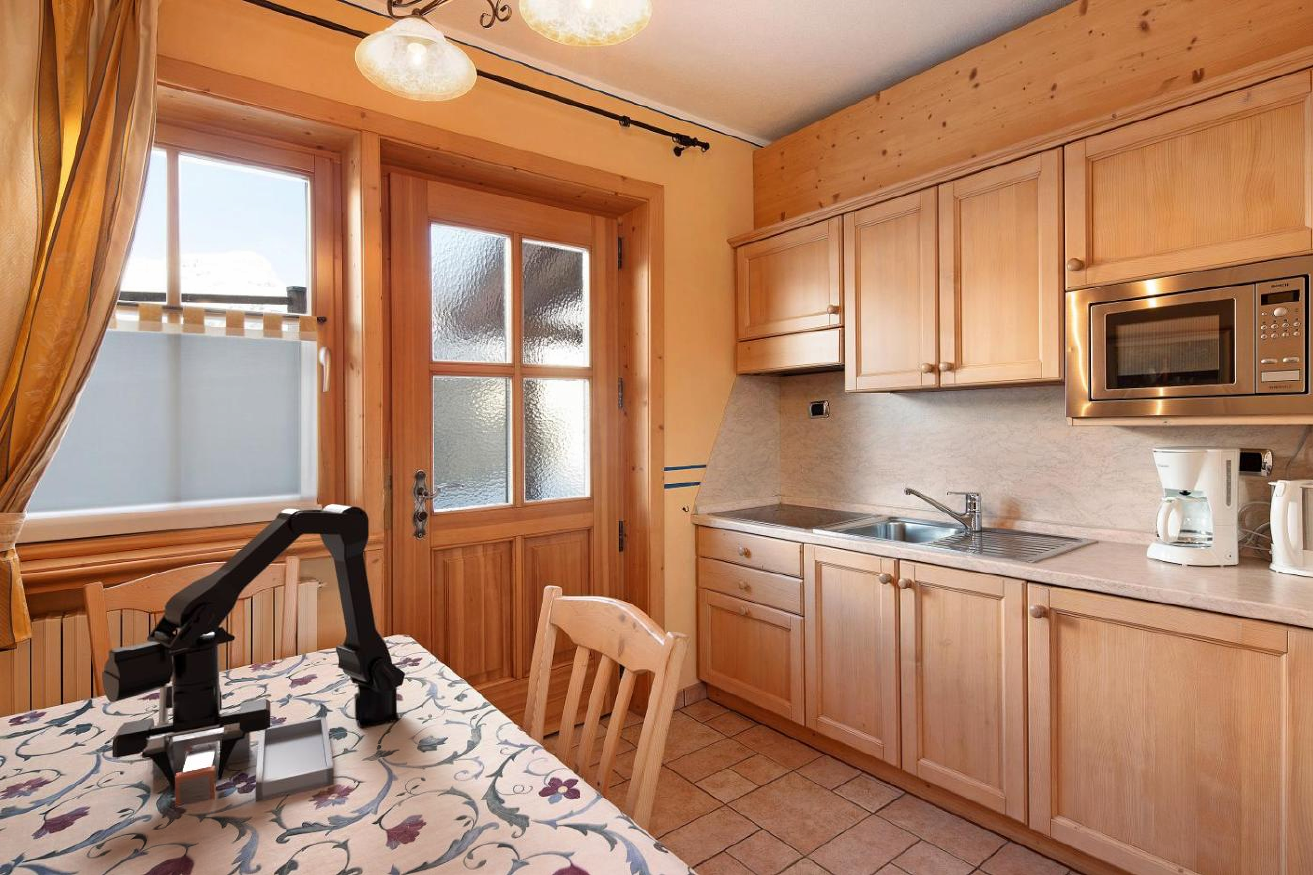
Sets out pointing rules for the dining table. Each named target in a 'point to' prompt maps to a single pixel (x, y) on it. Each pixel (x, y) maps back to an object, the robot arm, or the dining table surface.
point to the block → (184, 741)
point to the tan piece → (197, 775)
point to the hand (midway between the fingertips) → (197, 784)
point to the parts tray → (293, 759)
